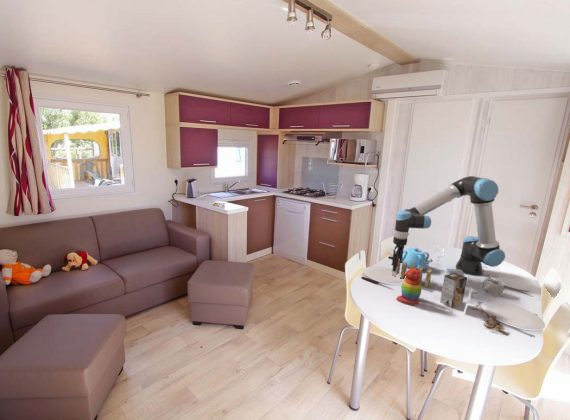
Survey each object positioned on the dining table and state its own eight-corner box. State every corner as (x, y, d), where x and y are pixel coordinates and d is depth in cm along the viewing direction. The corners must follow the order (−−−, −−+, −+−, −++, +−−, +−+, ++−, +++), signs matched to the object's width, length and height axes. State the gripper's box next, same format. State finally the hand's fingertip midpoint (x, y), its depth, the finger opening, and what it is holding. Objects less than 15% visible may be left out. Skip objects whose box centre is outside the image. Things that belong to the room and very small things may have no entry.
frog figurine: (475, 317, 144) (477, 310, 143) (505, 324, 140) (507, 317, 139) (480, 330, 134) (482, 323, 133) (512, 338, 129) (514, 330, 128)
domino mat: (436, 286, 173) (436, 284, 173) (431, 294, 164) (432, 292, 164) (391, 273, 188) (391, 271, 188) (384, 279, 179) (385, 278, 179)
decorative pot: (431, 269, 198) (434, 249, 195) (418, 274, 188) (421, 254, 185) (408, 260, 210) (411, 242, 207) (395, 265, 201) (398, 246, 198)
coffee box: (450, 300, 158) (455, 272, 155) (462, 306, 153) (468, 277, 149) (439, 303, 154) (444, 275, 150) (450, 310, 149) (456, 280, 145)
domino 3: (412, 280, 177) (415, 264, 175) (410, 283, 173) (413, 267, 171) (410, 279, 178) (412, 263, 176) (407, 282, 174) (410, 266, 172)
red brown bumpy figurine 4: (405, 278, 180) (407, 262, 178) (402, 280, 176) (405, 265, 174) (402, 277, 181) (404, 261, 179) (399, 280, 177) (402, 264, 175)
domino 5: (429, 285, 172) (432, 269, 170) (427, 288, 168) (430, 271, 166) (426, 284, 173) (429, 268, 171) (424, 287, 169) (427, 271, 167)
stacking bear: (403, 293, 163) (408, 263, 159) (422, 301, 156) (428, 269, 152) (394, 300, 156) (399, 268, 152) (414, 308, 149) (419, 275, 145)
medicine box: (458, 282, 180) (460, 269, 178) (461, 286, 175) (464, 272, 173) (444, 281, 180) (446, 268, 178) (447, 284, 176) (450, 271, 174)
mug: (503, 293, 168) (505, 283, 167) (501, 297, 164) (503, 286, 162) (482, 287, 175) (484, 277, 174) (479, 291, 170) (482, 280, 169)
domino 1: (392, 276, 179) (394, 260, 177) (395, 273, 183) (397, 258, 181) (395, 276, 178) (397, 261, 176) (397, 274, 182) (400, 258, 180)
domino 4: (421, 282, 175) (423, 266, 172) (418, 285, 171) (421, 269, 169) (418, 281, 176) (420, 266, 173) (416, 284, 172) (418, 268, 169)
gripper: (402, 242, 166) (397, 281, 171) (411, 235, 180) (405, 271, 185) (389, 239, 170) (384, 277, 176) (398, 232, 185) (393, 267, 190)
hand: (395, 274), depth 181 cm, fingers closed on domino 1, 5 cm apart
